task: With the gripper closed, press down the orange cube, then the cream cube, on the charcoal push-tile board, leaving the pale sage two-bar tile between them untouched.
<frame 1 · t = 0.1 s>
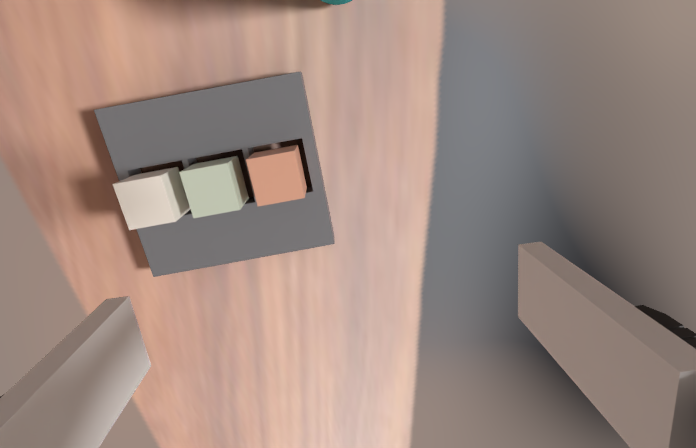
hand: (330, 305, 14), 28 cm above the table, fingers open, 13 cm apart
cream cube: (154, 198, 36), point 5 cm above the table, slide at 0.0 cm
tile board: (228, 175, 40), on the table
tile two bar: (216, 186, 36), point 5 cm above the table, slide at 0.0 cm
orange cube: (278, 175, 36), point 5 cm above the table, slide at 0.0 cm
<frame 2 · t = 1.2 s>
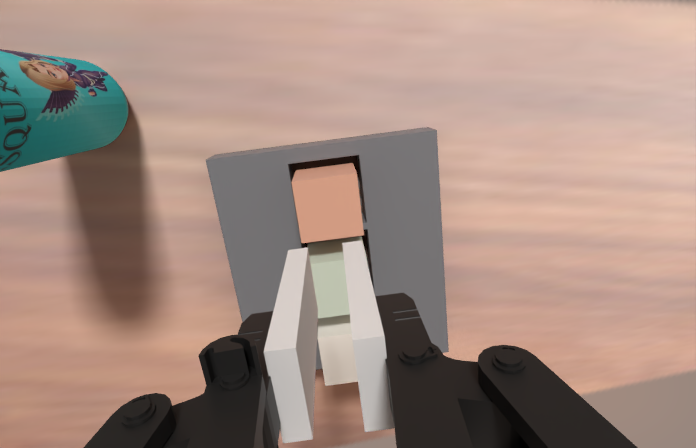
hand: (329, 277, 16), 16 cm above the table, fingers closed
cream cube: (349, 342, 31), point 5 cm above the table, slide at 0.0 cm
tile board: (337, 252, 33), on the table
beverage can: (97, 104, 29), on the table
tile two bar: (339, 275, 29), point 5 cm above the table, slide at 0.0 cm
orange cube: (329, 201, 27), point 5 cm above the table, slide at 0.0 cm
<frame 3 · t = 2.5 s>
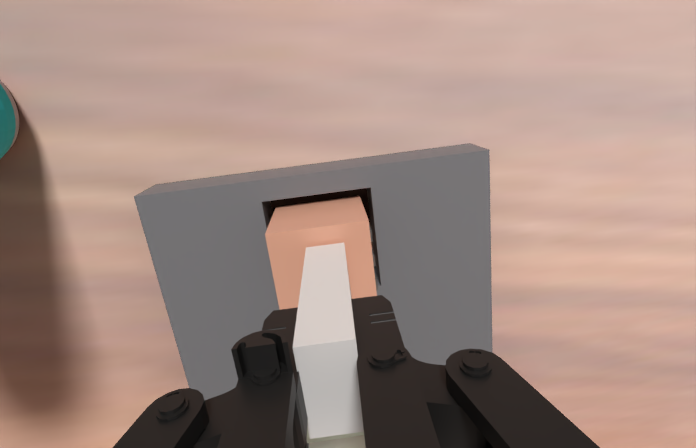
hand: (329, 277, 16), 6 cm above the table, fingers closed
tile board: (337, 319, 24), on the table
tile two bar: (341, 369, 19), point 5 cm above the table, slide at 0.0 cm
orange cube: (325, 255, 18), point 4 cm above the table, slide at 0.7 cm, touching gripper
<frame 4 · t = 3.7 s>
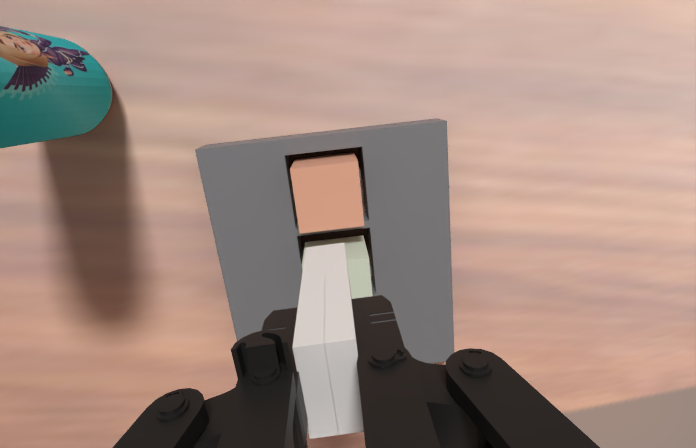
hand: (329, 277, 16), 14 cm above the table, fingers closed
tile board: (336, 252, 31), on the table
beverage can: (78, 88, 27), on the table
tile two bar: (339, 277, 27), point 5 cm above the table, slide at 0.0 cm
orange cube: (329, 190, 27), point 3 cm above the table, slide at 1.5 cm
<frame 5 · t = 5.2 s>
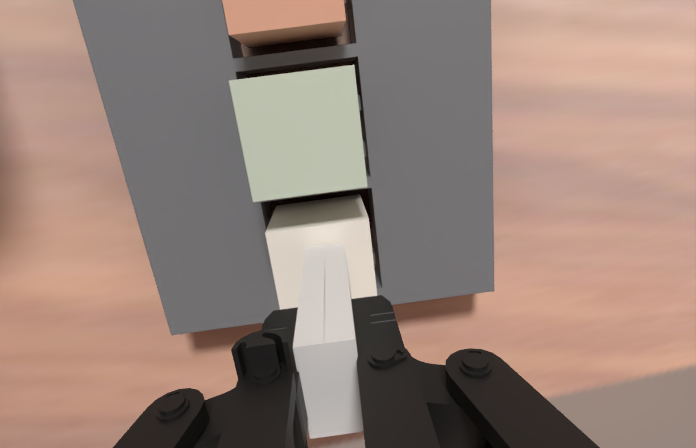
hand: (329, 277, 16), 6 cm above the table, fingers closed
cream cube: (325, 254, 18), point 3 cm above the table, slide at 1.1 cm, touching gripper
tile board: (308, 122, 20), on the table
tile two bar: (305, 130, 16), point 5 cm above the table, slide at 0.0 cm
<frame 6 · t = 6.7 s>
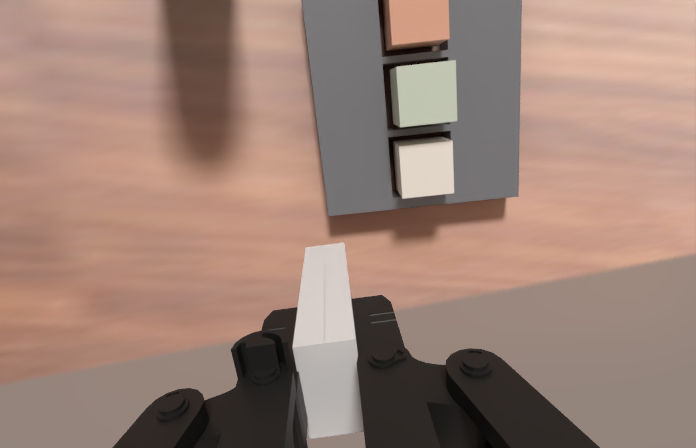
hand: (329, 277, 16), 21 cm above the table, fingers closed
cream cube: (422, 166, 33), point 3 cm above the table, slide at 1.5 cm
tile board: (411, 95, 34), on the table
tile two bar: (422, 94, 30), point 5 cm above the table, slide at 0.0 cm
orange cube: (415, 15, 30), point 3 cm above the table, slide at 1.5 cm
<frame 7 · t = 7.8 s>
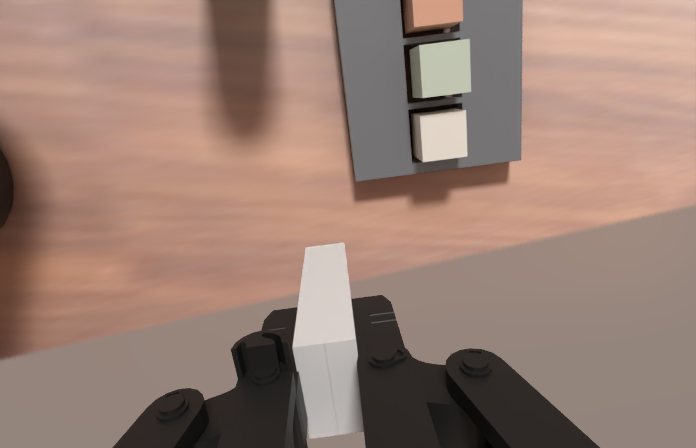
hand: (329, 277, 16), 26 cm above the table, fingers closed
cream cube: (438, 134, 38), point 3 cm above the table, slide at 1.5 cm
tile board: (426, 72, 39), on the table
tile two bar: (439, 70, 35), point 5 cm above the table, slide at 0.0 cm
orange cube: (432, 1, 34), point 3 cm above the table, slide at 1.5 cm
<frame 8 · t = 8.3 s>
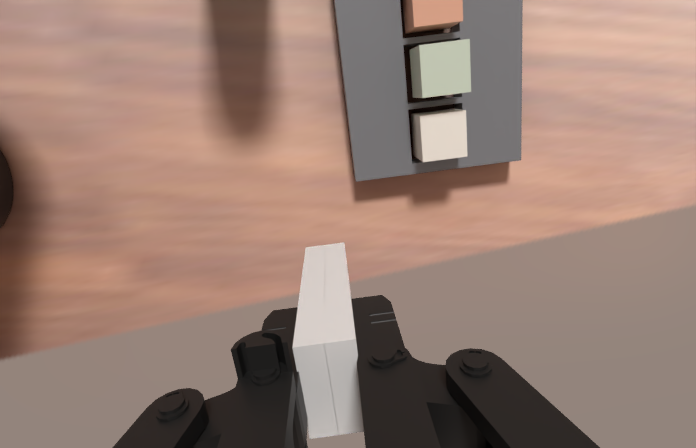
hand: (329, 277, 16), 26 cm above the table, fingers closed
cream cube: (438, 134, 38), point 3 cm above the table, slide at 1.5 cm
tile board: (426, 72, 39), on the table
tile two bar: (439, 70, 35), point 5 cm above the table, slide at 0.0 cm
orange cube: (432, 1, 34), point 3 cm above the table, slide at 1.5 cm
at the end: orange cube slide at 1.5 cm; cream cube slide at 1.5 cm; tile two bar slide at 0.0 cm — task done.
